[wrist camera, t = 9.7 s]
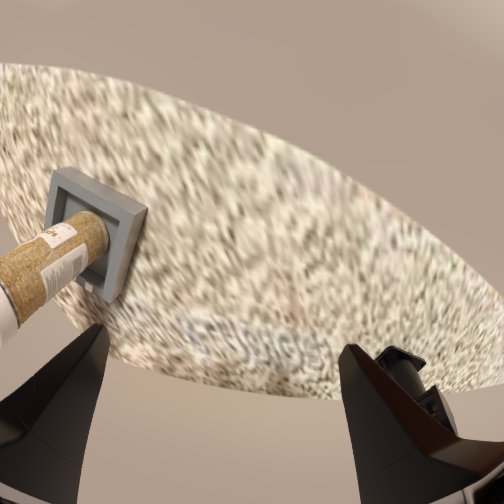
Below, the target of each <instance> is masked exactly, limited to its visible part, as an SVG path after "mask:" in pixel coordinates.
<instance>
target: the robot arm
mask: <svg viewBox="0 0 504 504" xmlns="http://www.w3.org/2000/svg"><path fill="white" fill-rule="evenodd" d="M109 346H110V339H109V336H108V332H107V329H106V326H105V325H103V324H98V323H95V324H93V325H92V326H90V327H89V328H88V329H87V330H86V331H84V332H83V333H82V334H81V335H80V336H78V337H77V338H76V339H75V340H74V341H72V342H71V343H70V344H69V345H68V346H66V347H65V348H64V349H63V350H62V351H61V352H60V353H58V354H57V355H56V356H55V357H53V358H52V359H51V360H50V361H49V362H48V363H46V364H45V365H44V366H43V367H42V368H41V369H40V370H39V371H37V372H36V373H35V374H34V376H32V377H30V378H29V379H28V380H27V381H26V382H25V383H24V384H22V385H21V386H20V387H19V388H18V389H16V390H15V391H14V392H13V393H11V394H10V395H9V396H7V397H6V398H4V399H3V400H2V401H0V504H77V496H78V489H79V482H80V476H81V468H82V463H83V458H84V453H85V448H86V443H87V439H88V434H89V430H90V426H91V422H92V418H93V414H94V410H95V406H96V402H97V399H98V395H99V392H100V388H101V385H102V381H103V377H104V371H105V366H106V361H107V356H108V351H109ZM391 350H392V351H391ZM338 364H339V373H340V382H341V392H342V398H343V403H344V407H345V413H346V418H347V422H348V428H349V433H350V438H351V443H352V449H353V455H354V460H355V466H356V472H357V479H358V485H359V493H360V500H361V504H504V442H490V441H478V440H468V439H463V438H460V437H458V432H457V428H456V424H455V421H454V417H453V414H452V412H451V410H450V408H449V406H448V403H447V401H446V400H445V398H444V396H443V395H442V393H441V392H440V390H439V389H438V388H437V386H436V385H434V386H432V387H431V389H429V390H428V391H426V390H425V388H424V385H423V383H422V381H421V378H420V376H419V374H418V372H419V371H420V370H421V369H422V368H423V367H424V366H425V365H426V362H425V360H424V359H422V358H420V357H417V356H415V355H413V354H411V353H408V352H406V351H404V350H402V349H399V348H397V347H395V346H390V347H388V348H387V349H386V350H385V351H384V352H383V353H382V354H381V355H380V356H379V357H378V358H377V359H376V360H375V361H374V360H373V359H372V358H371V357H370V356H369V355H368V354H367V353H366V352H365V351H364V350H363V349H362V348H361V347H360V346H358V345H357V344H347V345H346V346H345V347H344V349H343V351H342V353H341V354H340V356H339V360H338Z"/></svg>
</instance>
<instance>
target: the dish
mask: <svg viewBox="0 0 504 504" xmlns="http://www.w3.org/2000/svg"><path fill="white" fill-rule="evenodd" d="M147 209H148V207H146V206H144V205H143V204H141V203H139V202H137V201H135V200H133V199H131V198H129V197H127V196H125V195H124V194H122V193H120V192H118V191H116V190H114V189H112V188H110V187H108V186H106V185H105V184H103V183H101V182H99V181H97V180H95V179H93V178H91V177H89V176H88V175H86V174H84V173H82V172H80V171H78V170H76V169H74V168H72V167H71V166H69V167H65V168H61V169H57V170H53V175H52V180H51V185H50V190H49V196H48V202H47V209H46V216H45V225H44V231H45V230H47V229H49V228H50V227H52V226H54V225H56V224H59V223H61V222H63V221H65V220H67V219H69V218H71V217H73V216H74V215H75V214H77V213H78V212H81V211H91V212H93V213H95V214H96V215H97V216H99V217H100V218H101V219H102V221H103V222H104V223H105V226H106V228H107V232H108V235H109V244H108V249H107V251H106V253H105V254H104V255H103V256H102V257H101V258H99V259H97V260H95V261H93V262H92V263H91V264H90V265H88V266H87V267H86V268H85V269H84V270H83V271H82V272H81V273H80V274H79V275H78V276H76V277H75V278H74V279H73V281H74V282H77V283H78V284H80V285H81V286H83V287H84V288H85V289H86V290H88V291H89V292H91V293H94V294H95V295H97V296H98V297H100V298H102V299H103V300H105V301H106V302H108V303H110V304H111V303H112V302H113V301H114V300H115V299H116V298H117V296H118V295H119V294H120V293H121V292H122V290H123V286H124V282H125V279H126V275H127V271H128V268H129V264H130V261H131V258H132V254H133V251H134V248H135V244H136V241H137V238H138V235H139V232H140V229H141V226H142V223H143V220H144V217H145V214H146V212H147Z"/></svg>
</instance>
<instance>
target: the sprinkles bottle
mask: <svg viewBox="0 0 504 504" xmlns="http://www.w3.org/2000/svg"><path fill="white" fill-rule="evenodd" d="M108 244H109V235H108V232H107V228H106V226H105V223H104V222H103V221H102V219H101V218H100V217H99V216H97V215H96V214H95V213H93V212H91V211H81V212H78V213H77V214H75V215H74V216H73V217H71V218H69V219H67V220H65V221H63V222H61V223H59V224H56V225H54V226H52V227H50V228H49V229H47V230H45V231H43V232H42V233H40V234H38V235H37V236H35V237H33V238H31V239H30V240H28V241H26V242H24V243H23V244H21V245H19V246H18V247H16V249H14V250H13V251H11V252H9V253H8V254H6V255H5V256H3V257H2V258H0V348H2V347H3V346H4V345H5V344H6V343H7V342H8V341H10V340H11V339H12V338H13V336H15V334H16V333H17V330H18V329H19V328H20V326H21V324H22V323H24V322H25V321H26V320H27V319H28V318H29V317H30V316H31V315H32V314H33V313H34V312H35V311H36V310H38V308H39V307H41V306H43V305H44V304H46V303H47V302H48V301H49V300H50V299H51V298H52V297H53V296H54V295H56V294H57V293H58V292H59V291H60V290H61V289H62V288H63V287H65V286H66V285H67V284H68V283H69V282H70V281H72V280H73V279H74V278H75V277H76V276H78V275H79V274H80V273H81V272H82V271H83V270H84V269H85V268H86V267H87V266H88V265H90V264H91V263H92V262H93V261H95V260H97V259H99V258H101V257H102V256H103V255H104V254H105V253H106V251H107V249H108Z"/></svg>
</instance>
